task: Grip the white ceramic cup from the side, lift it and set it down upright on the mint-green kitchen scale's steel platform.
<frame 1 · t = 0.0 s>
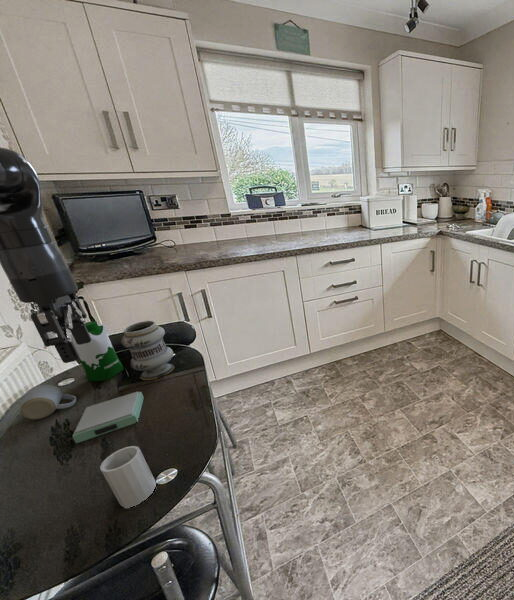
hand: (79, 351, 63), 31 cm above the table, tool pointing down, fingers open, 8 cm apart
ceramic mug: (53, 410, 98), on the table
apothecary jar: (158, 372, 114), on the table
milk carton: (106, 375, 115), on the table
kitchen scale: (113, 418, 92), on the table
white cup: (139, 494, 68), on the table
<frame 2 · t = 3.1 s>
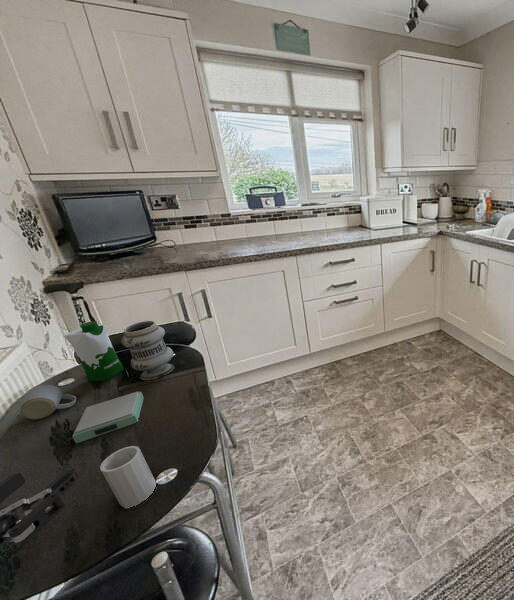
hand: (47, 474, 51), 18 cm above the table, tool horizontal, fingers open, 8 cm apart
nothing on the table moved.
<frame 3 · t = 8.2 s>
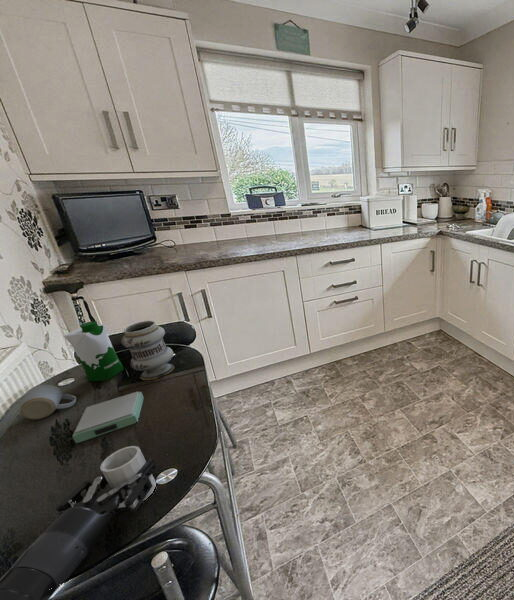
hand: (136, 463, 68), 6 cm above the table, tool horizontal, fingers closed on white cup, 6 cm apart
white cup: (139, 494, 68), on the table, touching gripper
everything else where it was.
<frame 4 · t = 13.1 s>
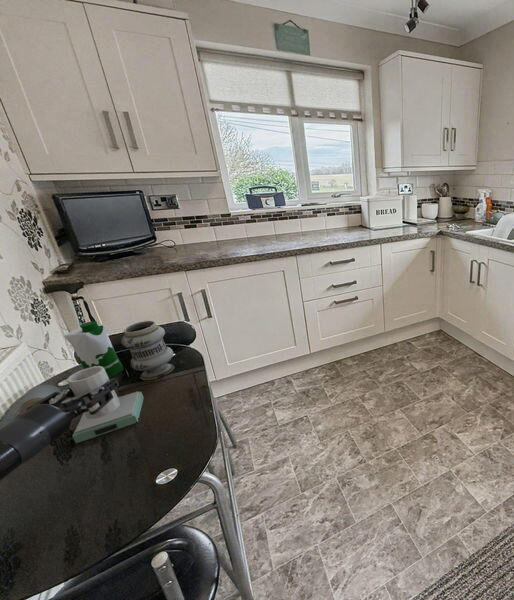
hand: (101, 382, 77), 18 cm above the table, tool horizontal, fingers closed on white cup, 6 cm apart
white cup: (103, 409, 76), point 12 cm above the table, touching gripper
everything else where it was.
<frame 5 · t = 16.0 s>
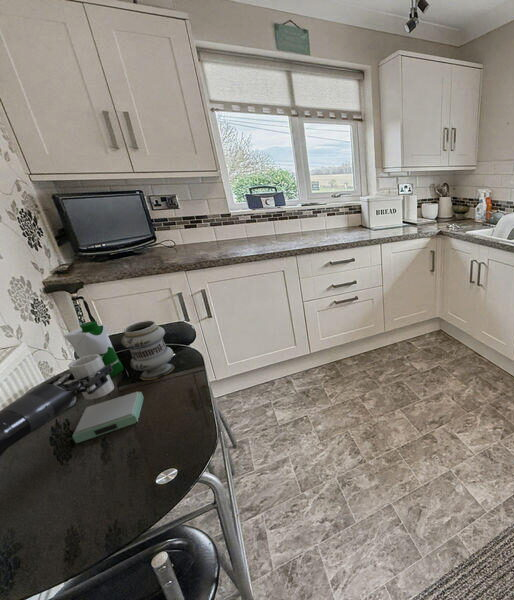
hand: (98, 368, 89), 15 cm above the table, tool horizontal, fingers closed on white cup, 6 cm apart
white cup: (100, 392, 88), point 9 cm above the table, touching gripper
everything else where it was.
when the fingers open (9 cm above the table, at t = 18.2 s): white cup stays where it is, resting on kitchen scale.
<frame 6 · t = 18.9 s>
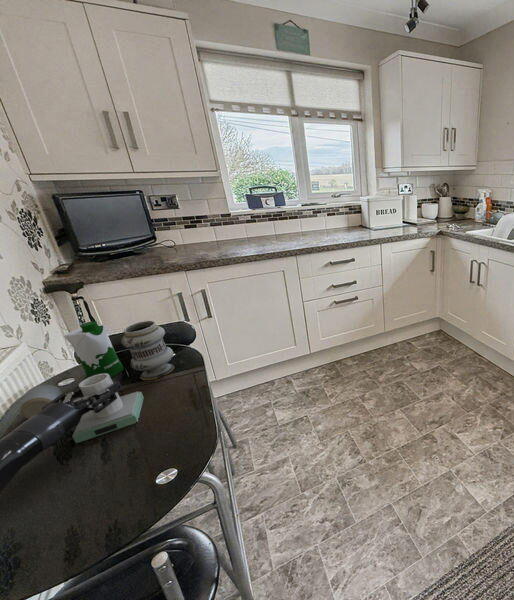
hand: (104, 385, 90), 10 cm above the table, tool horizontal, fingers open, 8 cm apart
white cup: (109, 410, 91), point 3 cm above the table, touching kitchen scale
everything else where it was.
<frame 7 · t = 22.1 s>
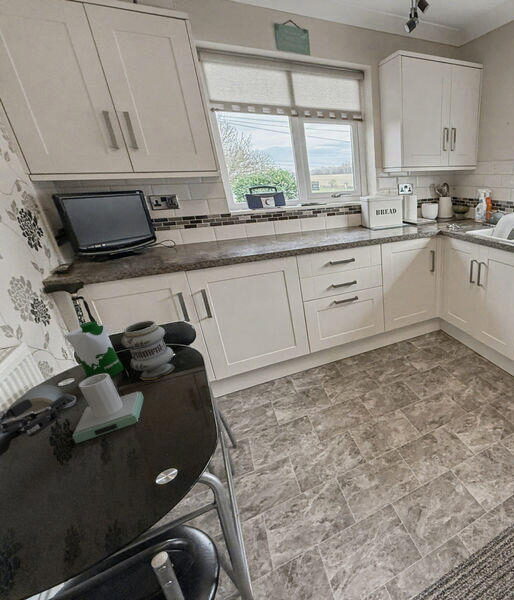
hand: (47, 401, 76), 15 cm above the table, tool horizontal, fingers open, 8 cm apart
nothing on the table moved.
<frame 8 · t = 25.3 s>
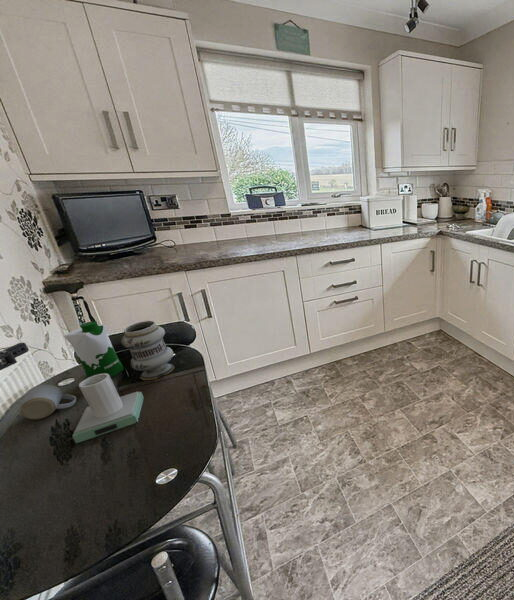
hand: (5, 347, 69), 30 cm above the table, tool horizontal, fingers open, 8 cm apart
nothing on the table moved.
at the end: white cup inside the target area on the kitchen scale (0.1 cm from its centre), point 3.0 cm above the kitchen scale's base; white cup tilted 0°; the gripper is holding nothing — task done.
